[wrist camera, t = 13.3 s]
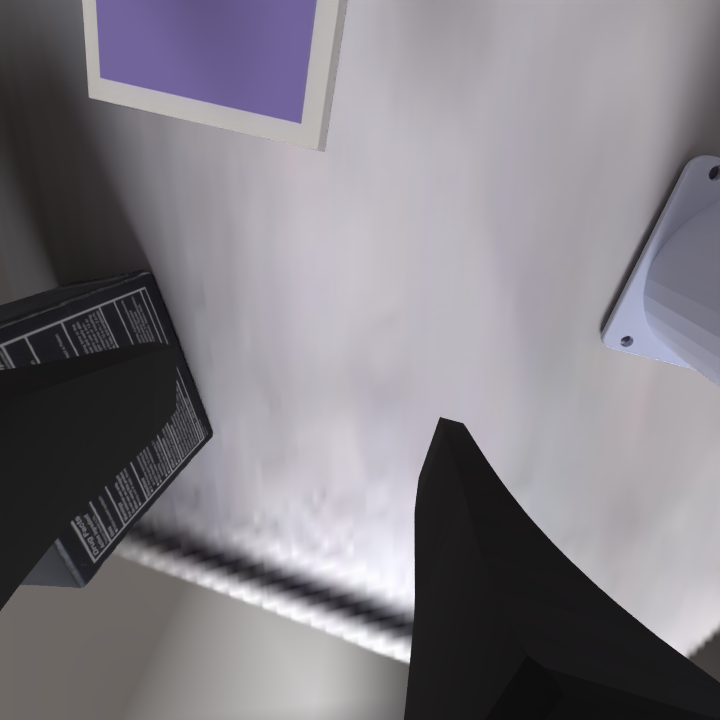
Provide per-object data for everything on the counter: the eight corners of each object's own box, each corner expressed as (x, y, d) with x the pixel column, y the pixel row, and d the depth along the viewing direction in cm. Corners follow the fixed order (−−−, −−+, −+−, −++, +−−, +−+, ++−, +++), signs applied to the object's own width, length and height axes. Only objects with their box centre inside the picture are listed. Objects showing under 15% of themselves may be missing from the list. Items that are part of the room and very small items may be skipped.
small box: (52, 285, 23) (-216, 362, 14) (153, 266, 22) (-68, 339, 12) (127, 444, 27) (-39, 590, 17) (217, 437, 25) (89, 593, 16)
